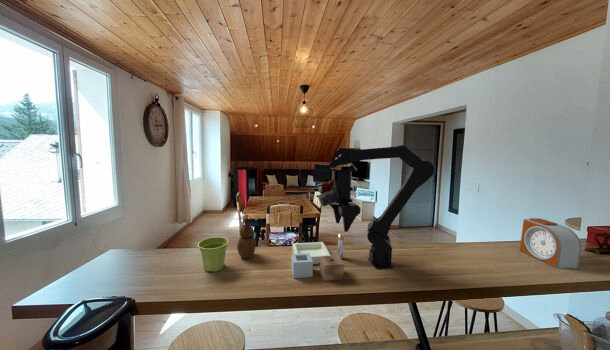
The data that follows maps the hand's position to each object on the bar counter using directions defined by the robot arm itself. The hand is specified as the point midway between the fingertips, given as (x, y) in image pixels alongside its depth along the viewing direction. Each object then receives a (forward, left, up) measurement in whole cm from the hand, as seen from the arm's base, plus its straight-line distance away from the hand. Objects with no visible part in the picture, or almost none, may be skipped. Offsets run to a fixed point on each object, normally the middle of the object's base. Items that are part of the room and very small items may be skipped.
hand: (341, 227), depth 86 cm
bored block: (+15, +8, -12) cm, 21 cm away
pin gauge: (0, 0, -12) cm, 12 cm away
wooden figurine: (+33, -6, -12) cm, 36 cm away
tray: (+10, -3, -12) cm, 16 cm away
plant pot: (+43, +1, -12) cm, 45 cm away
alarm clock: (-77, +10, -12) cm, 78 cm away
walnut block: (+6, +10, -12) cm, 17 cm away
